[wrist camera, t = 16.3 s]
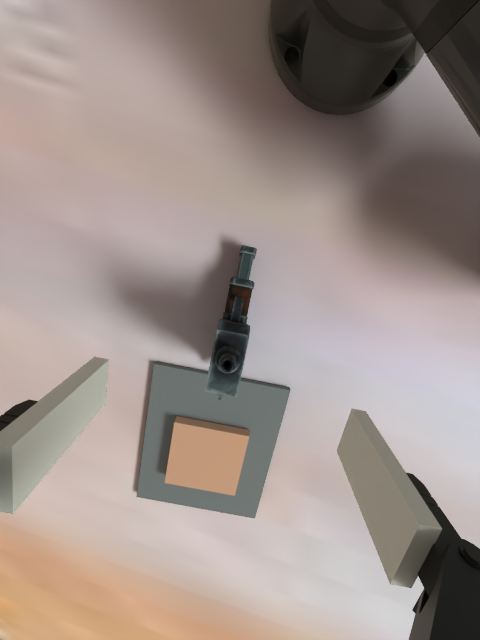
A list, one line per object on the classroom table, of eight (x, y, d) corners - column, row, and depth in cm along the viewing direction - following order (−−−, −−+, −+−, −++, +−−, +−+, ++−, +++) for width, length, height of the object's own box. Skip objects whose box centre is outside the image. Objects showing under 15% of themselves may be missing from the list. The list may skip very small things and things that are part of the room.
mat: (155, 361, 39) (154, 363, 38) (289, 387, 40) (290, 390, 39) (138, 492, 45) (136, 496, 44) (254, 513, 46) (254, 518, 45)
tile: (174, 422, 39) (164, 482, 42) (249, 436, 39) (234, 495, 42) (177, 415, 40) (167, 474, 43) (249, 428, 41) (235, 486, 43)
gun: (277, 212, 21) (235, 422, 21) (257, 258, 38) (233, 374, 38) (240, 204, 21) (197, 415, 21) (236, 253, 38) (213, 370, 38)
